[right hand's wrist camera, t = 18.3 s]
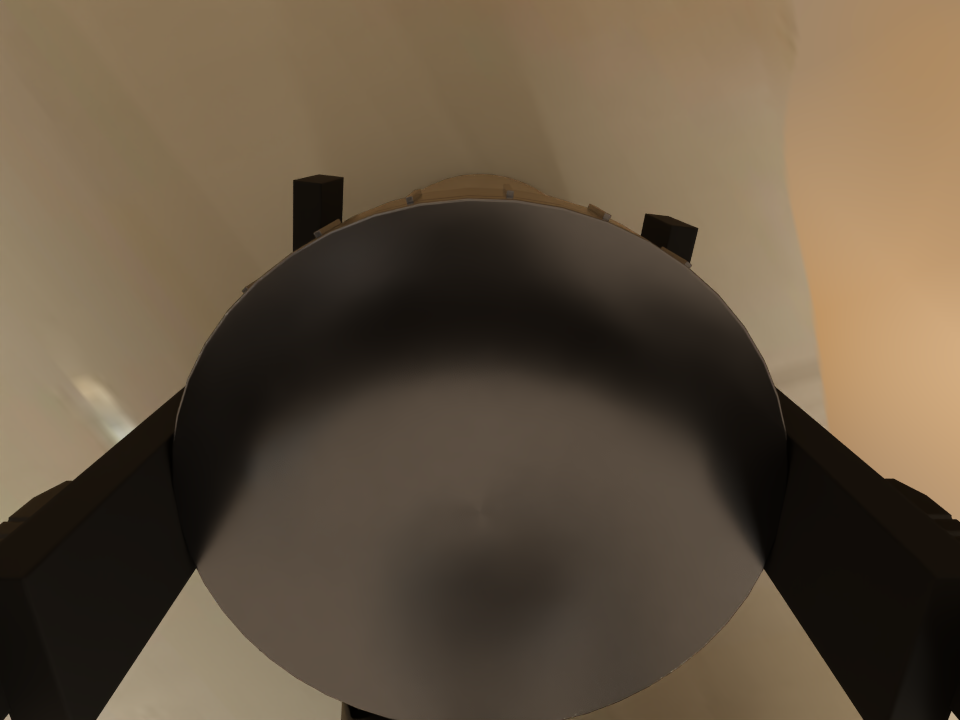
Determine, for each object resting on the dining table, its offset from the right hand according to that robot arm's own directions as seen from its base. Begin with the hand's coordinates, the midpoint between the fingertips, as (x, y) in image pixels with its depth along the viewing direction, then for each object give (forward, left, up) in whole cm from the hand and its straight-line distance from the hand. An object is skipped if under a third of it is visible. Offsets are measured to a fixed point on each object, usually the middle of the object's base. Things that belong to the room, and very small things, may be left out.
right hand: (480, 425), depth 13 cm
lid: (0, 0, +3) cm, 3 cm away
